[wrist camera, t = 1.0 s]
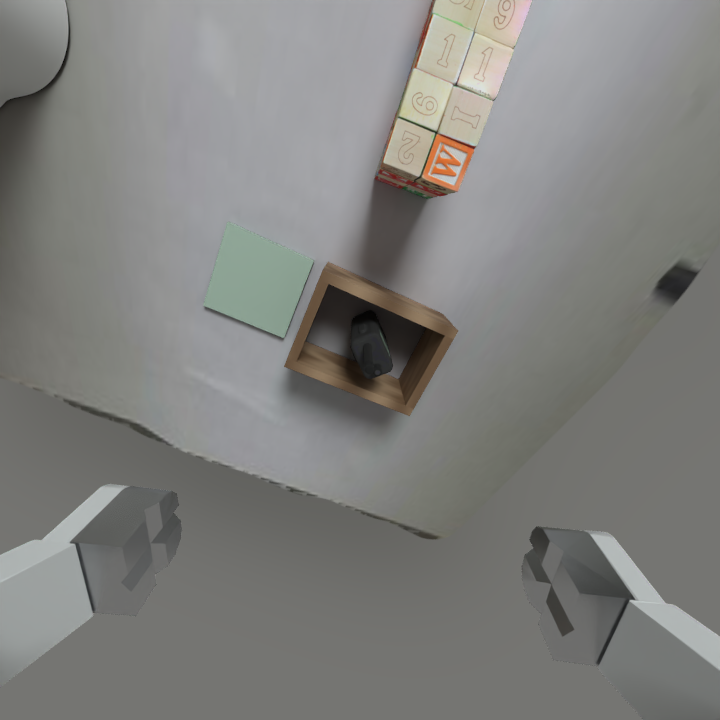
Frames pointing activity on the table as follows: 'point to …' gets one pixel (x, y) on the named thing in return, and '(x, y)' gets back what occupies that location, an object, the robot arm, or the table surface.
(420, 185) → the stack of blocks
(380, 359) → the walkie-talkie
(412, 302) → the access box
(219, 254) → the place mat
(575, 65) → the table surface
